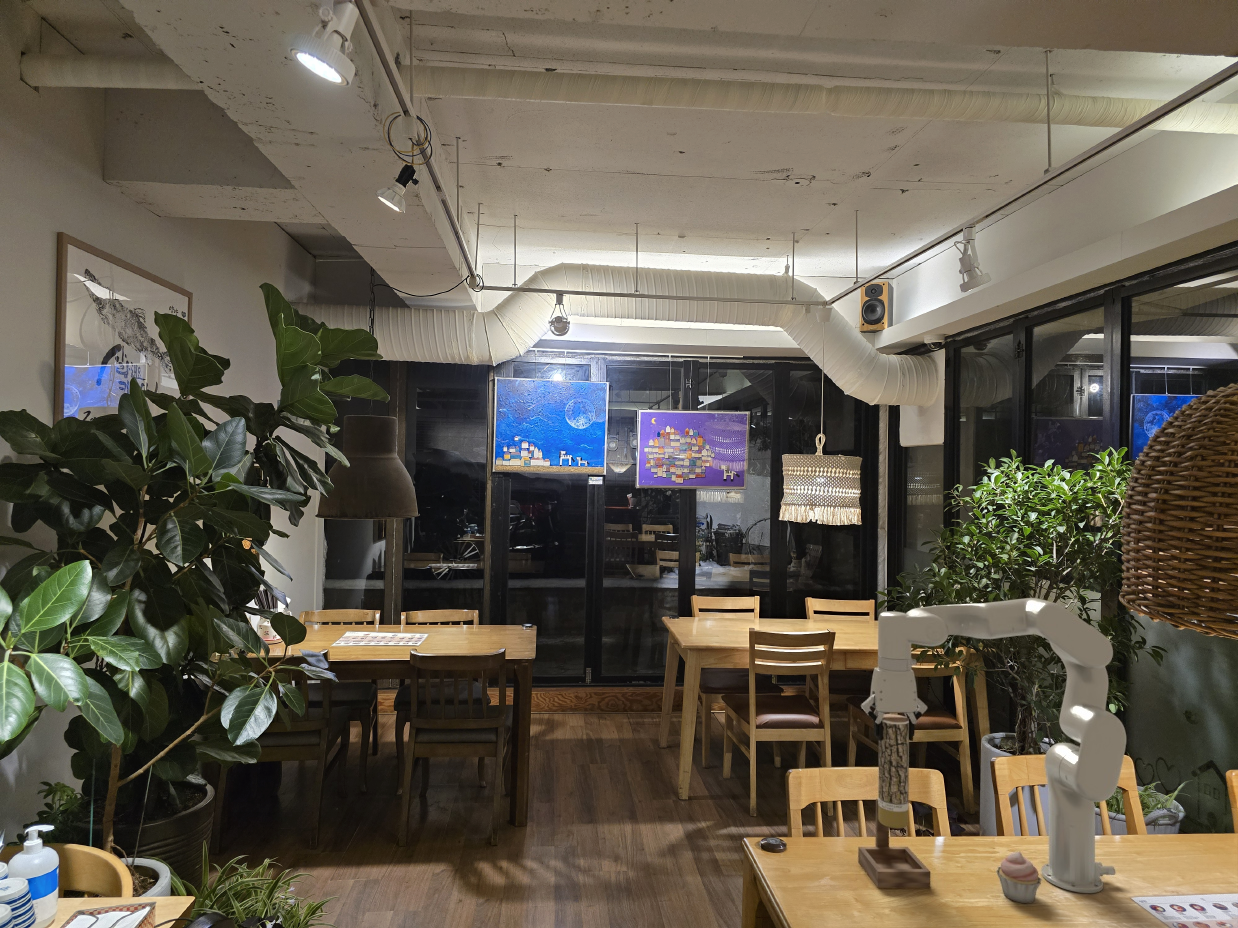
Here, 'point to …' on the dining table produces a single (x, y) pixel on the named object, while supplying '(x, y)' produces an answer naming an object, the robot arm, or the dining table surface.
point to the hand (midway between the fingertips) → (893, 738)
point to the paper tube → (894, 772)
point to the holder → (892, 863)
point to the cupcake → (1018, 878)
